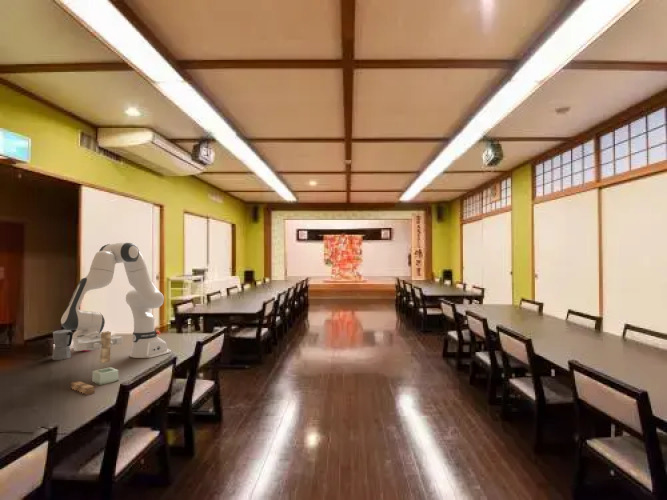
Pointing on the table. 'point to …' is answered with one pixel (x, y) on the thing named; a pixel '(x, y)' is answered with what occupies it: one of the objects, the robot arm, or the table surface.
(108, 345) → the tan wooden block
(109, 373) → the pale green hollow block
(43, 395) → the table surface
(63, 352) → the coffeepot
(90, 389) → the tan wooden bar
